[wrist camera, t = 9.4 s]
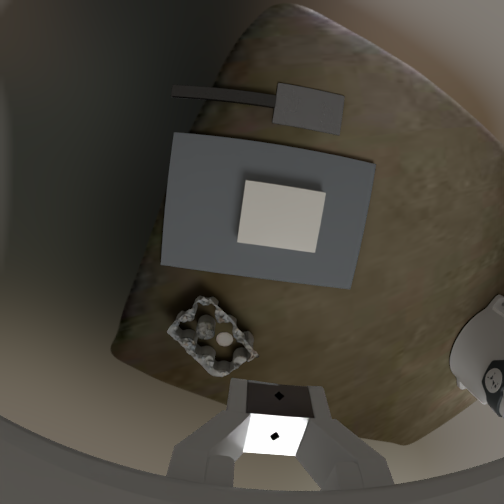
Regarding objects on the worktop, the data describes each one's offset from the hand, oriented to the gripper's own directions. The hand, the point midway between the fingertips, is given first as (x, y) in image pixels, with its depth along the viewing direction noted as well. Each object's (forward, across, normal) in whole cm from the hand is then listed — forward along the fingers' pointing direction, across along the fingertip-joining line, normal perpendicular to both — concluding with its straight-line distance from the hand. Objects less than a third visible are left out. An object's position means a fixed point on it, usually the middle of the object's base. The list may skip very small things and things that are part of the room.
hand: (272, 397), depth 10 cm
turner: (+30, +3, -14) cm, 33 cm away
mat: (+30, 0, -2) cm, 30 cm away
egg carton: (+30, +4, +15) cm, 34 cm away
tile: (+28, +3, -2) cm, 28 cm away
